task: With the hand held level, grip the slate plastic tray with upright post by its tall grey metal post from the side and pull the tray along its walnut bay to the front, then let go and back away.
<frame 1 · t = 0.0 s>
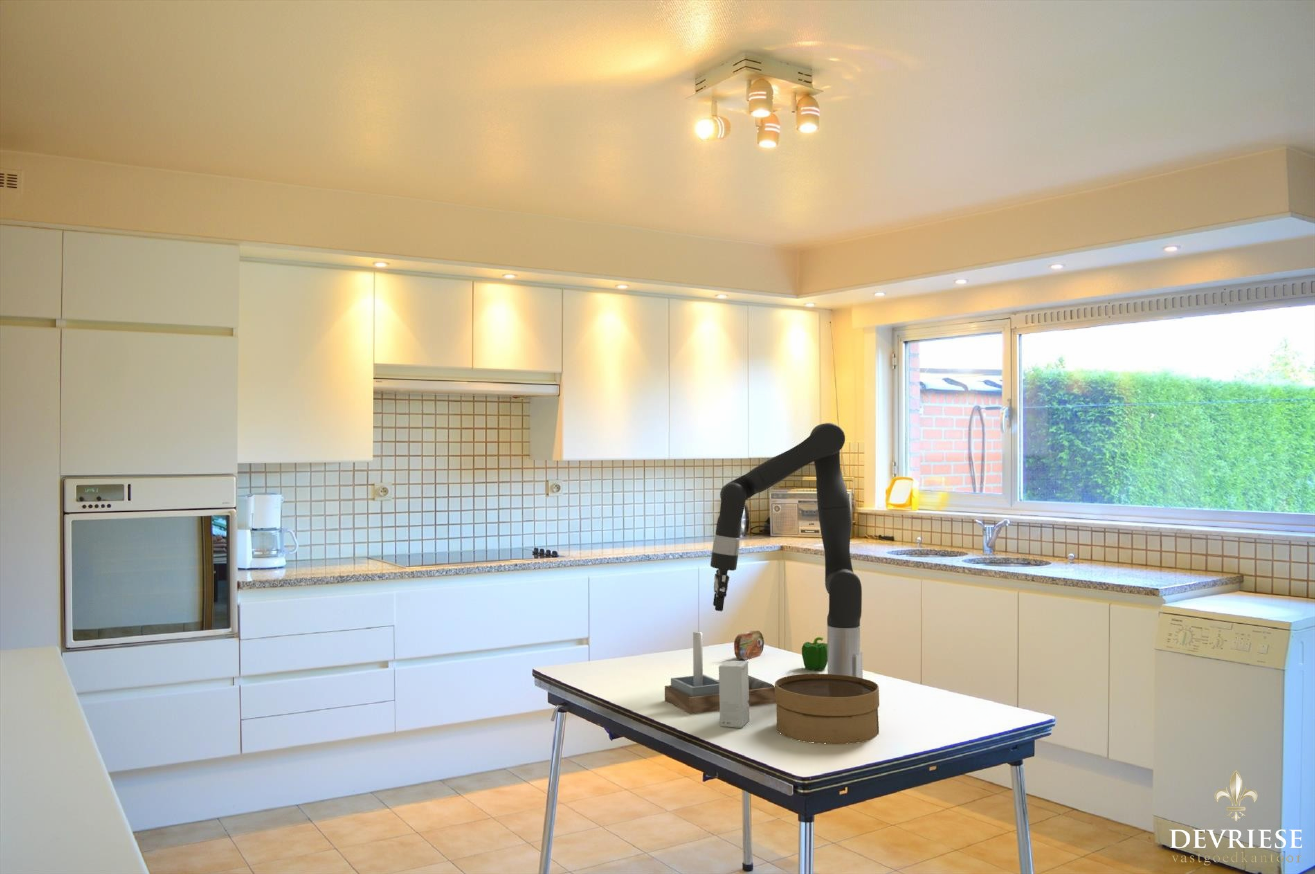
hand: (717, 608, 280), 22 cm above the table, tool pointing down, fingers open, 8 cm apart
bay: (720, 701, 263), on the table
tray with upright post: (698, 666, 260), point 10 cm above the table, slide at 0.0 cm
bell pepper: (814, 669, 303), on the table
steamer basket: (827, 731, 236), on the table
tin: (748, 658, 321), on the table
skincare box: (734, 724, 242), on the table
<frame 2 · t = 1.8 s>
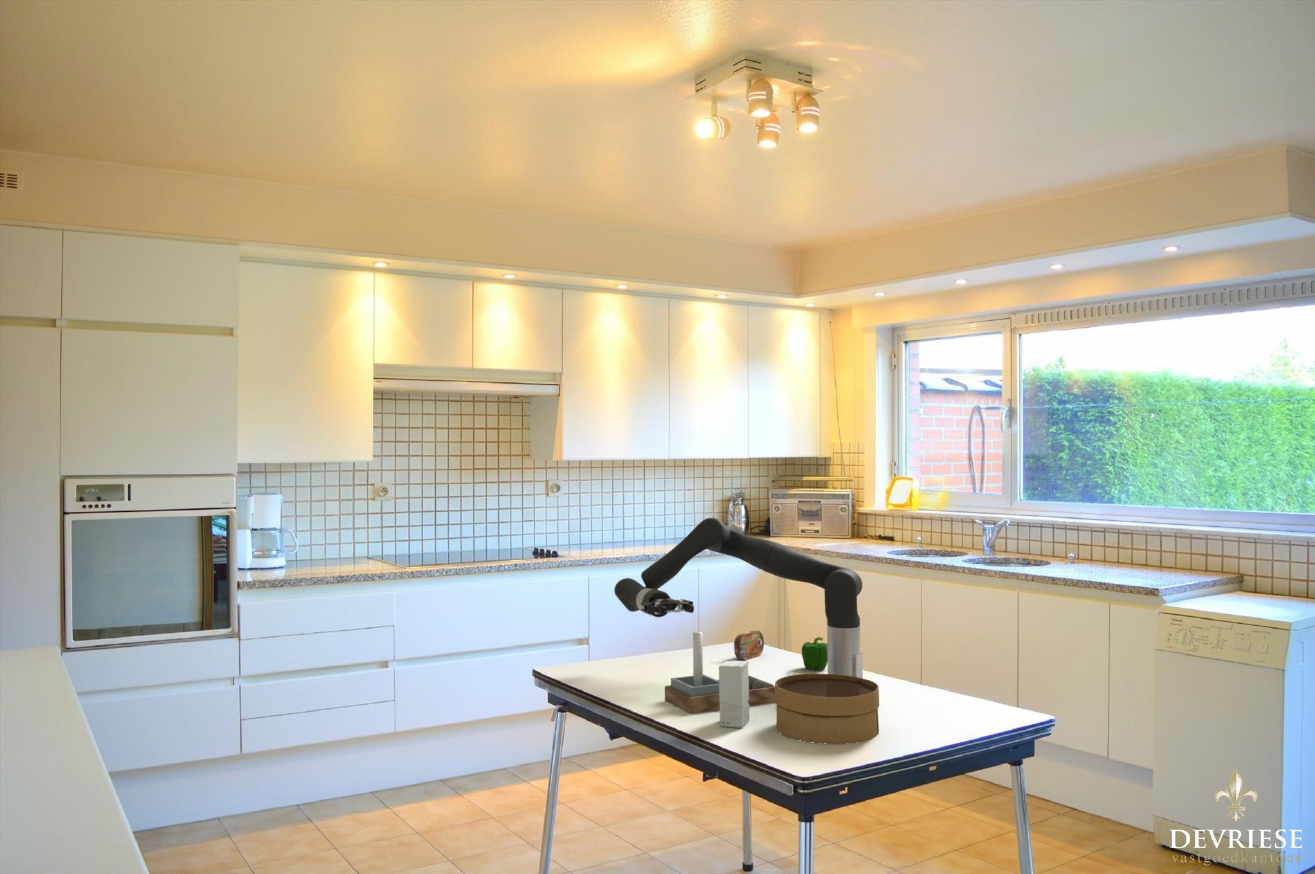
hand: (678, 610, 271), 23 cm above the table, tool horizontal, fingers open, 8 cm apart
nothing on the table moved.
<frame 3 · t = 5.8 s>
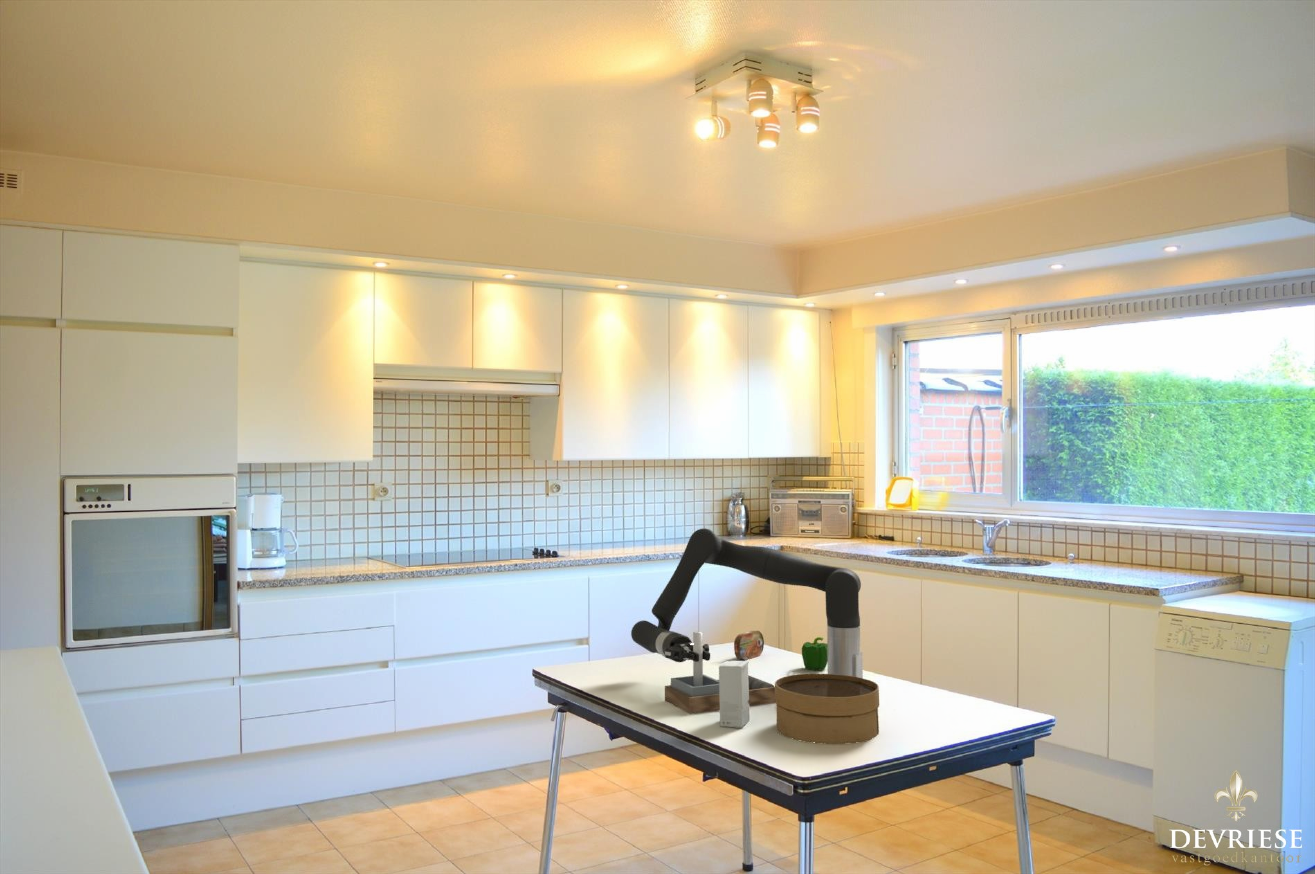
hand: (703, 657, 258), 13 cm above the table, tool horizontal, fingers closed on tray with upright post, 2 cm apart
tray with upright post: (698, 666, 260), point 10 cm above the table, slide at 0.0 cm, touching gripper
everything else where it was.
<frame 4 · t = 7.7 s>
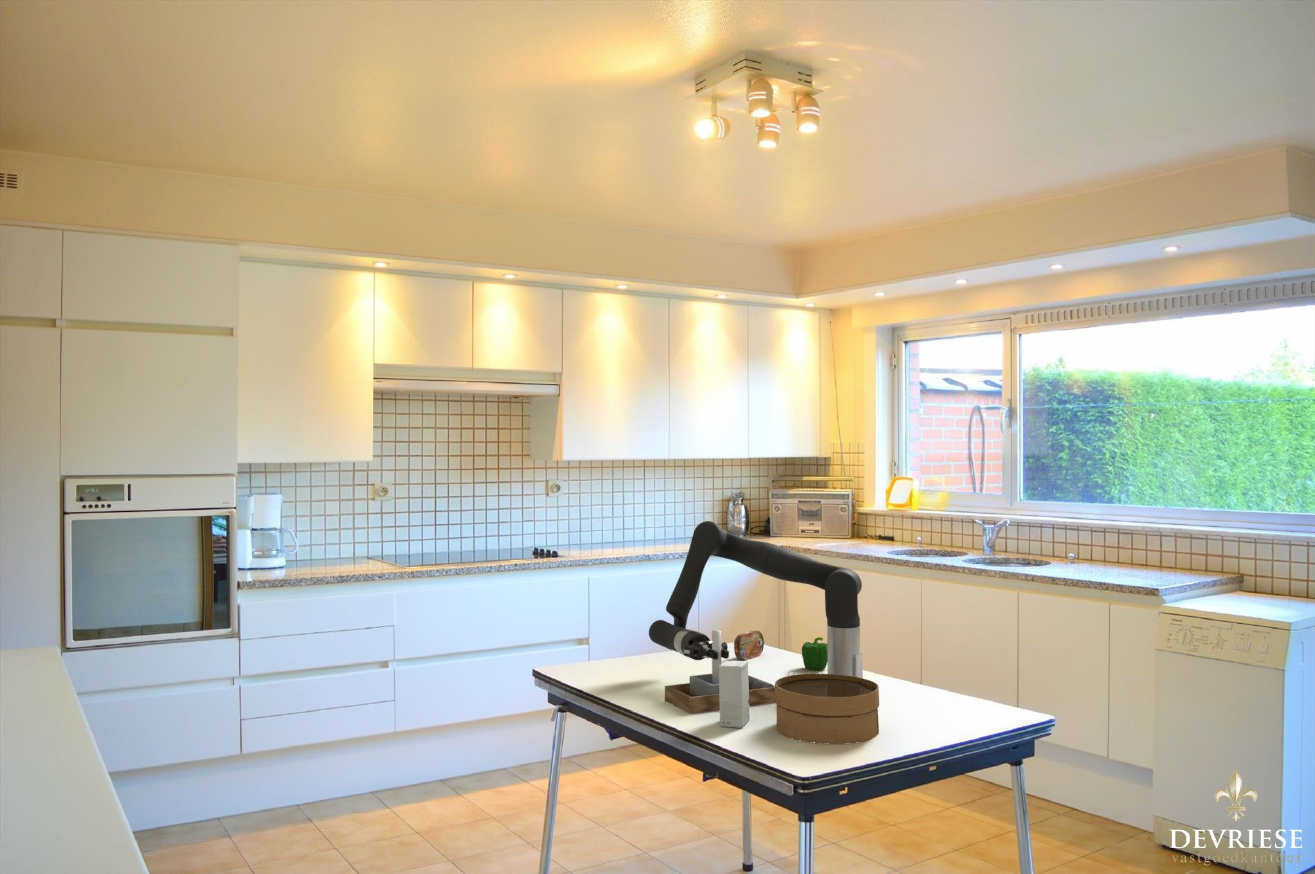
hand: (722, 655, 260), 13 cm above the table, tool horizontal, fingers closed on tray with upright post, 2 cm apart
tray with upright post: (716, 664, 263), point 10 cm above the table, slide at 5.7 cm, touching gripper
everything else where it was.
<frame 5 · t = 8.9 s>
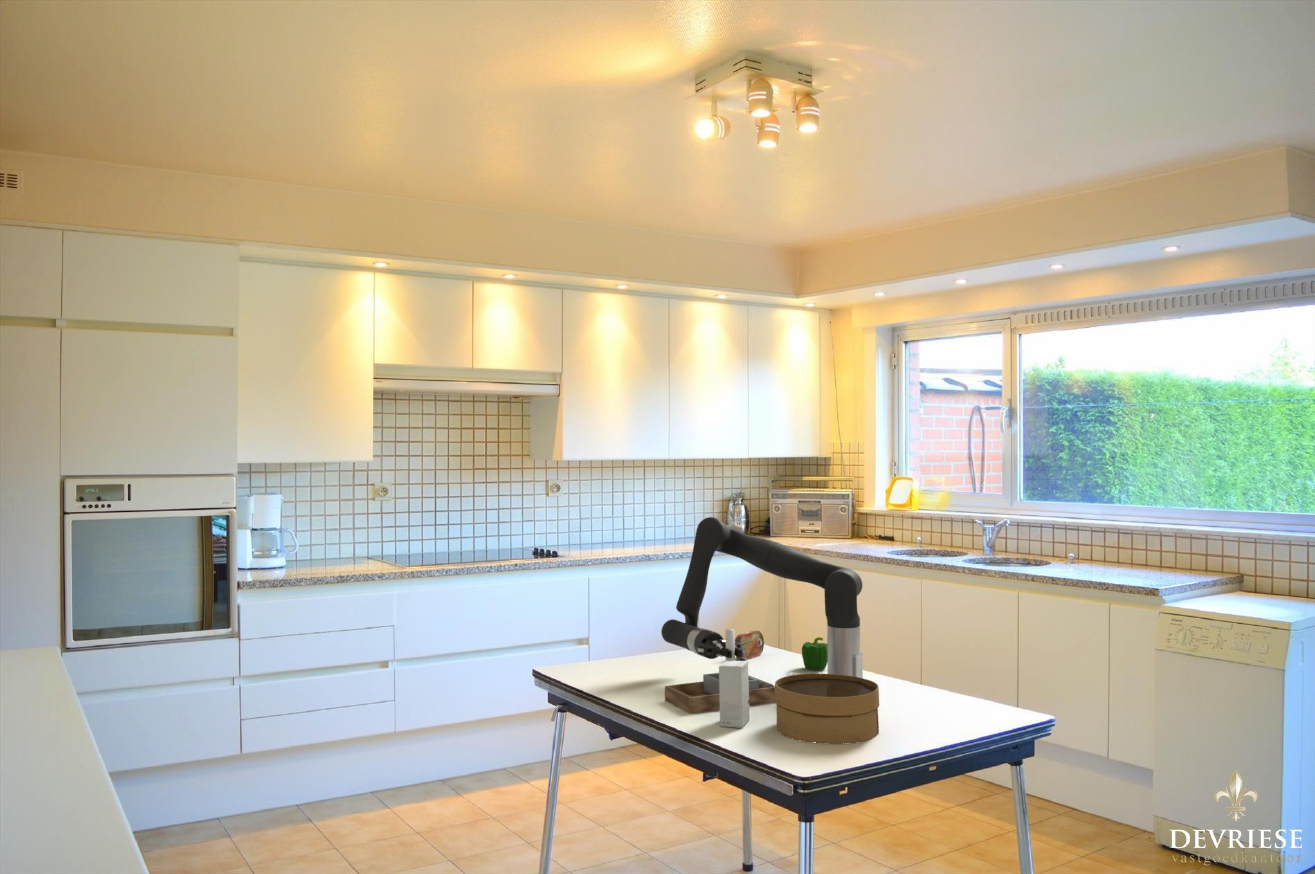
hand: (735, 653, 262), 13 cm above the table, tool horizontal, fingers closed on tray with upright post, 2 cm apart
tray with upright post: (730, 662, 265), point 10 cm above the table, slide at 9.9 cm, touching gripper
everything else where it was.
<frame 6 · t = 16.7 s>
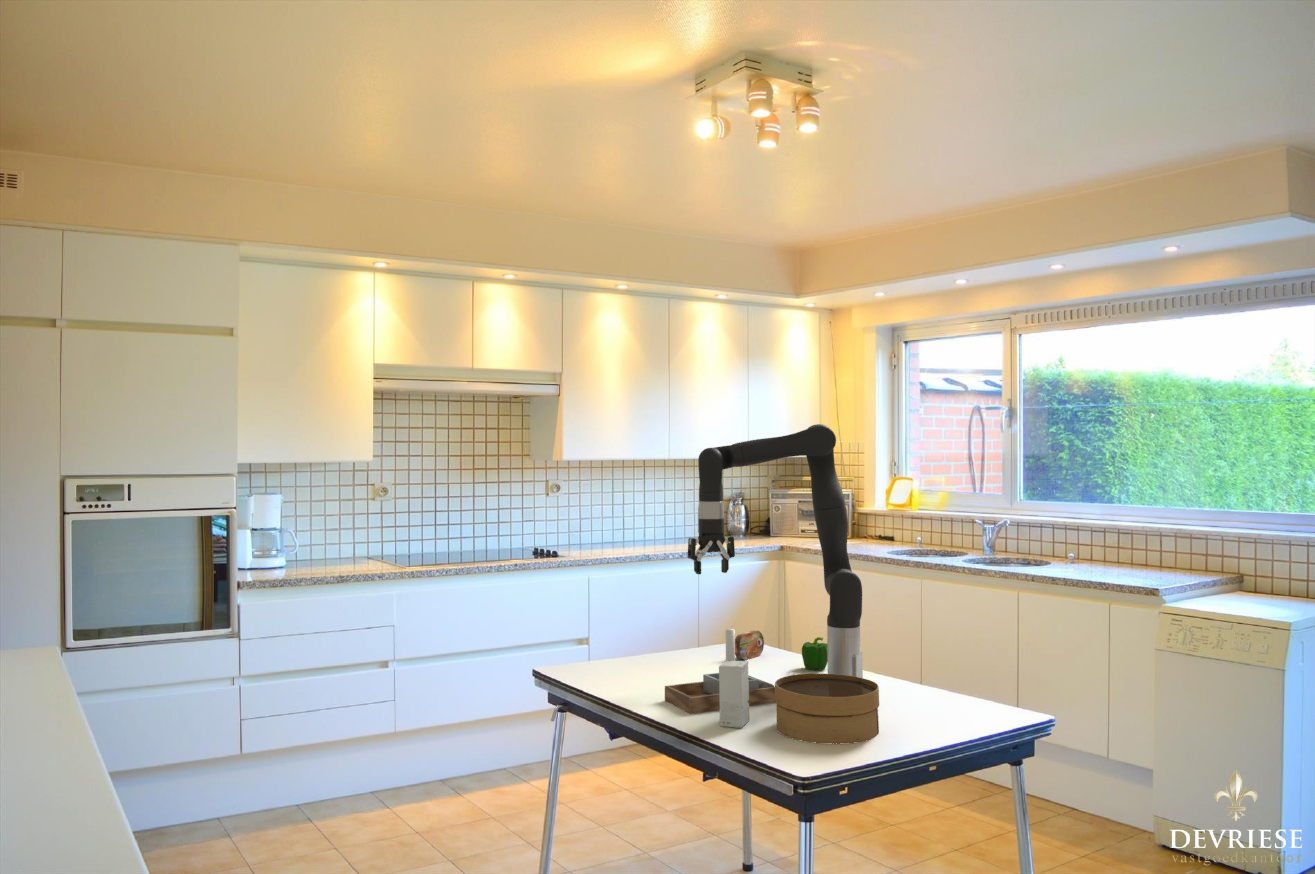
hand: (711, 573, 283), 32 cm above the table, tool pointing down, fingers open, 8 cm apart
tray with upright post: (730, 662, 265), point 10 cm above the table, slide at 9.9 cm
everything else where it was.
at the end: tray with upright post slide at 9.9 cm; the gripper is holding nothing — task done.
